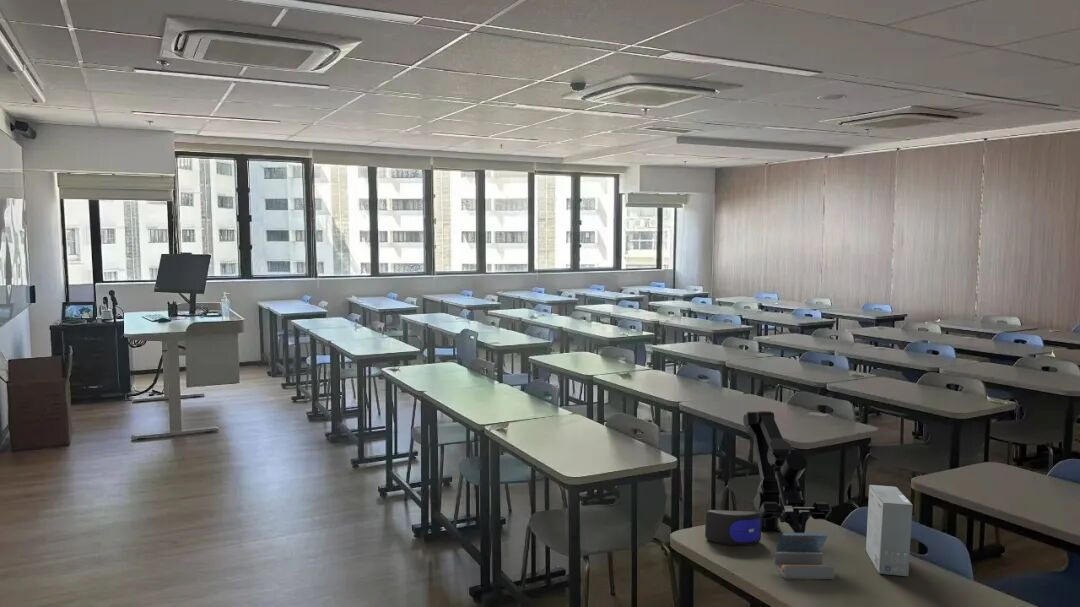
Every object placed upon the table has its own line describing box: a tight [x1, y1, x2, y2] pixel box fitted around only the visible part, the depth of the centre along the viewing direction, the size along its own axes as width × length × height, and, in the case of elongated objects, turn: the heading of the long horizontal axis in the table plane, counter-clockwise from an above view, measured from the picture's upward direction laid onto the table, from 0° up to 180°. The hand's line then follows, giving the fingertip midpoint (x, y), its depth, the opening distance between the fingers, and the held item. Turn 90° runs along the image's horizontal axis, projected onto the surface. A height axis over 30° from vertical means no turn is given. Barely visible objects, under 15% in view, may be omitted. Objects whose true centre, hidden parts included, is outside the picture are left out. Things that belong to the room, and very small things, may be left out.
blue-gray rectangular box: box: [775, 532, 829, 553], centre depth 194 cm, size 8×12×1 cm
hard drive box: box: [865, 484, 914, 577], centre depth 198 cm, size 16×8×20 cm, turn 168°
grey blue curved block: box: [704, 509, 762, 547], centre depth 211 cm, size 16×5×9 cm, turn 84°
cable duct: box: [773, 552, 835, 581], centre depth 193 cm, size 9×13×4 cm, turn 90°
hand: (801, 540), depth 194 cm, fingers closed, pressing on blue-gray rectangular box
